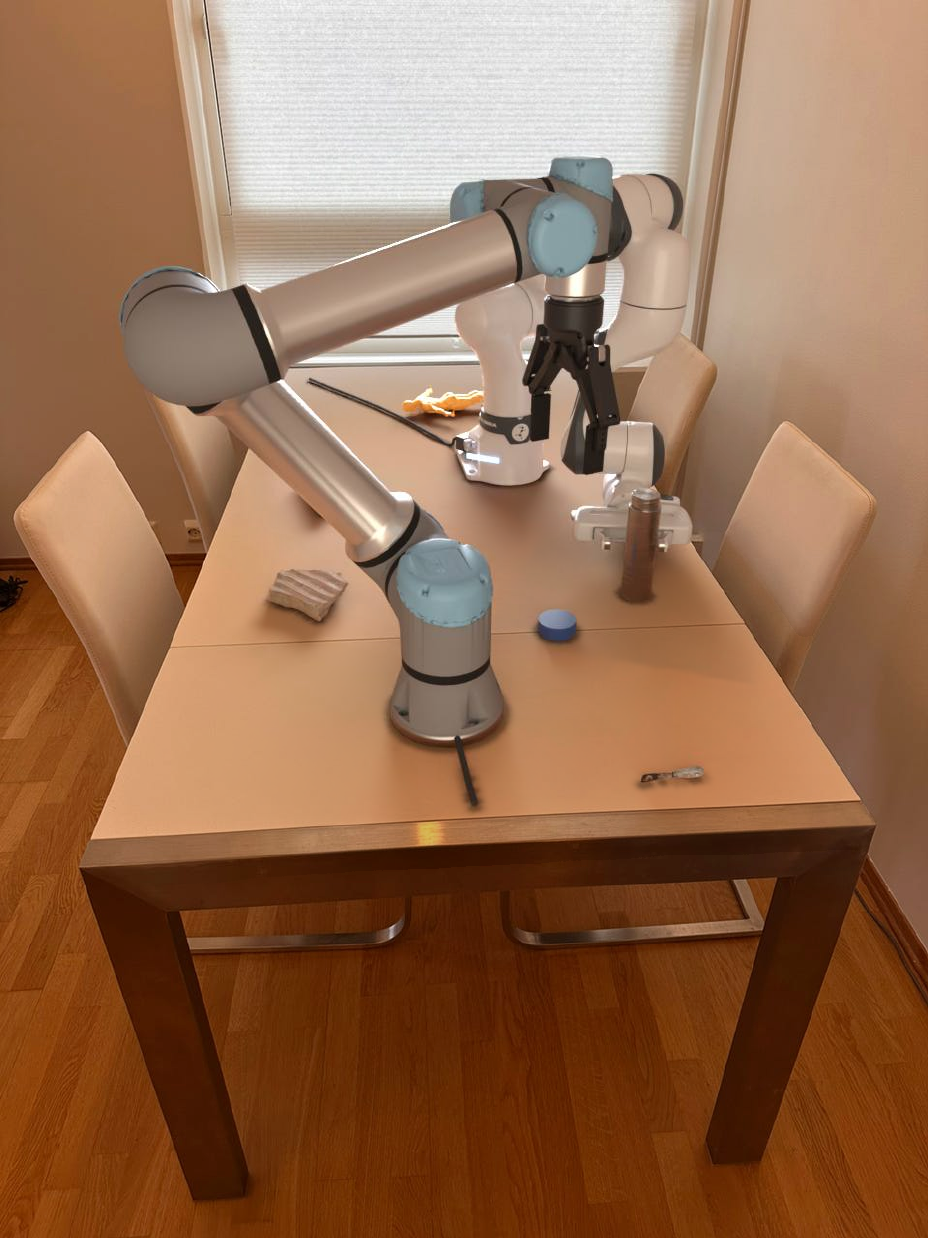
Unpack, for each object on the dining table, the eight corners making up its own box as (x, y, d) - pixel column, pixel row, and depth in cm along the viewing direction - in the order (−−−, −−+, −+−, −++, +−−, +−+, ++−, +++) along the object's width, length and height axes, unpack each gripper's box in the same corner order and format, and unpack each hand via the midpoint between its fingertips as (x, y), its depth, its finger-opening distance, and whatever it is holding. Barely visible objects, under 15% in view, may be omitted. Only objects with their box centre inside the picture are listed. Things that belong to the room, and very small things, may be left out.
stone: (357, 587, 149) (356, 574, 148) (321, 622, 140) (319, 608, 139) (291, 573, 154) (290, 560, 152) (252, 607, 144) (250, 593, 143)
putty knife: (703, 777, 109) (705, 767, 109) (642, 788, 108) (644, 777, 107) (700, 772, 110) (702, 762, 109) (639, 782, 109) (640, 771, 108)
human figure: (395, 413, 223) (394, 398, 221) (438, 390, 237) (438, 375, 235) (462, 429, 215) (462, 413, 213) (502, 404, 229) (503, 388, 227)
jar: (622, 585, 150) (632, 485, 141) (652, 589, 149) (665, 489, 139) (617, 599, 146) (627, 497, 136) (648, 604, 145) (660, 502, 135)
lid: (537, 640, 136) (537, 628, 135) (538, 620, 141) (539, 608, 140) (575, 642, 135) (576, 630, 134) (575, 621, 140) (576, 610, 139)
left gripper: (660, 312, 104) (642, 482, 115) (547, 274, 122) (541, 423, 134) (606, 319, 101) (593, 493, 112) (499, 279, 120) (497, 431, 131)
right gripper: (571, 493, 159) (572, 527, 147) (688, 497, 158) (698, 532, 146) (569, 525, 163) (570, 561, 151) (683, 529, 161) (693, 566, 149)
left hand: (565, 455), depth 123 cm, fingers open, 13 cm apart
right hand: (634, 547), depth 148 cm, fingers open, 8 cm apart
